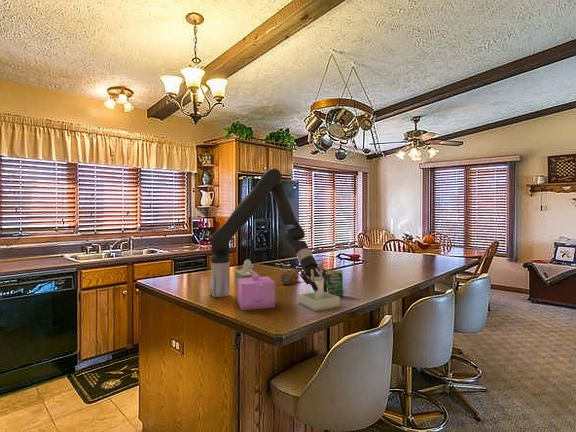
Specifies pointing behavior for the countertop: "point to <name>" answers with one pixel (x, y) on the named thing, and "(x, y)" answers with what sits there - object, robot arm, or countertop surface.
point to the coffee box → (335, 283)
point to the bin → (318, 301)
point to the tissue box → (245, 271)
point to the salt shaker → (319, 288)
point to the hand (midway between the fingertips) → (321, 289)
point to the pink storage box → (256, 292)
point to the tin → (289, 276)
